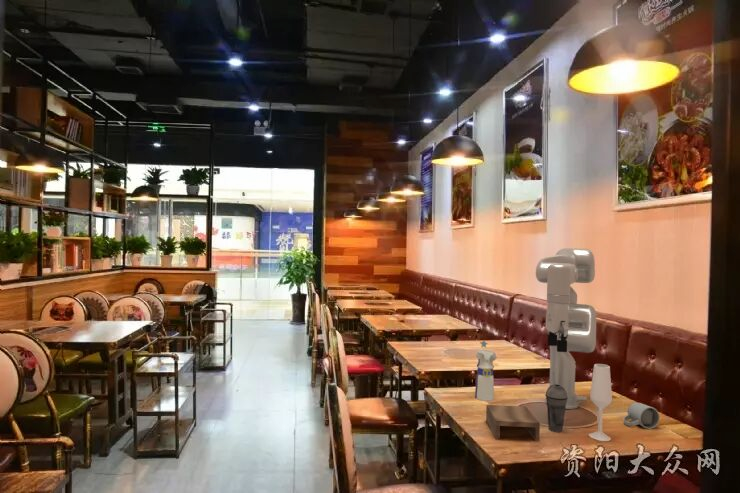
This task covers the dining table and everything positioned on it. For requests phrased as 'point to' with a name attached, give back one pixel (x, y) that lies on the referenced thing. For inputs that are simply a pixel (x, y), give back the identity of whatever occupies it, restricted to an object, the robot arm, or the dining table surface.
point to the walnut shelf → (511, 419)
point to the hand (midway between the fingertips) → (556, 348)
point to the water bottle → (485, 374)
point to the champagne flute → (601, 396)
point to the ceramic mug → (642, 416)
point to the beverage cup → (556, 406)
